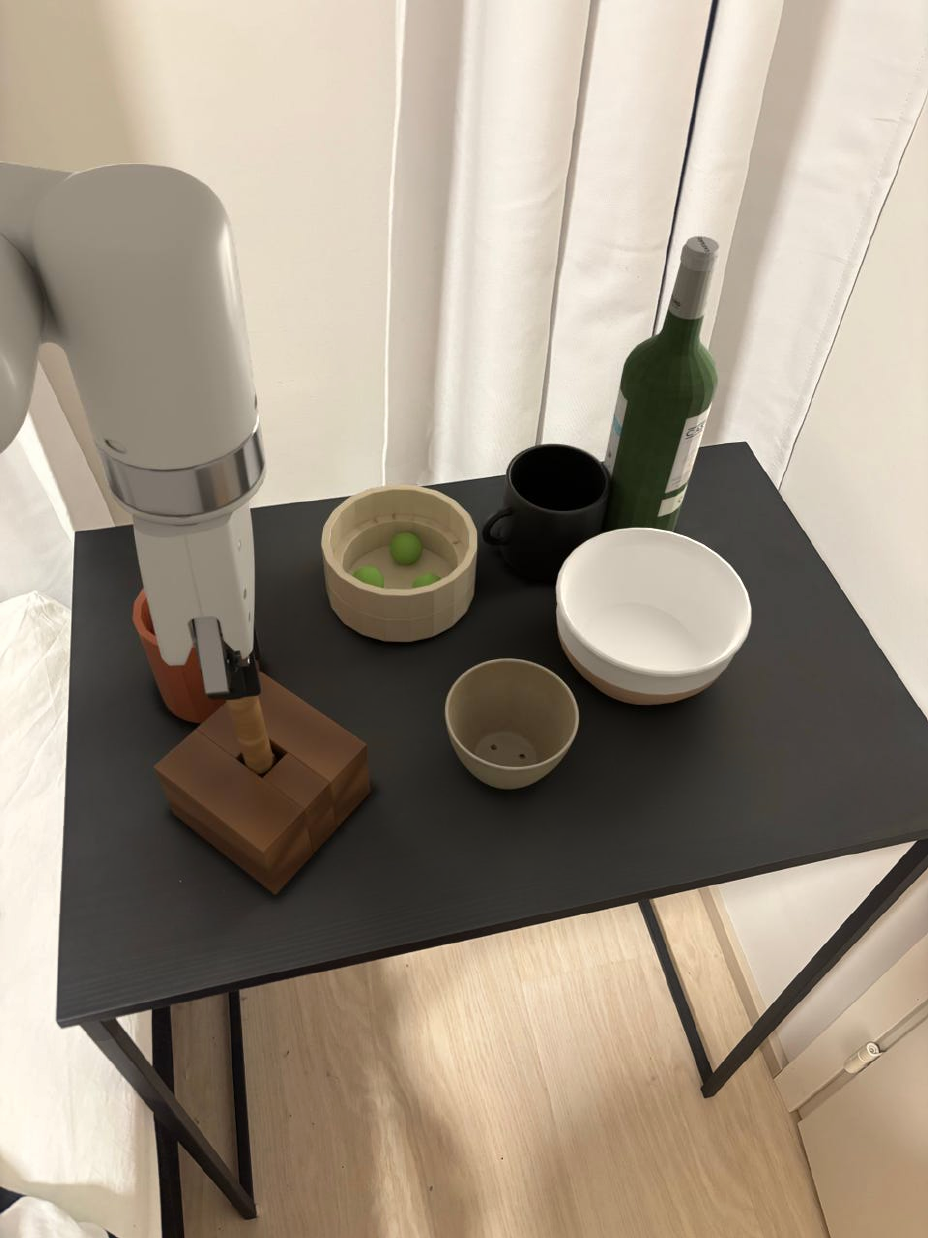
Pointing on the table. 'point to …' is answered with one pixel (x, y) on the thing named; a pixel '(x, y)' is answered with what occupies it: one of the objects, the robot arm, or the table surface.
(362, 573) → the pea
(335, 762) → the holder
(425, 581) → the pea
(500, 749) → the flower pot
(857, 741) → the table surface
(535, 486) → the mug
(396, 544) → the pea
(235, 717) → the wooden dowel peg
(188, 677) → the crock
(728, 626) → the bowl
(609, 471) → the wine bottle
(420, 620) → the mixing bowl
